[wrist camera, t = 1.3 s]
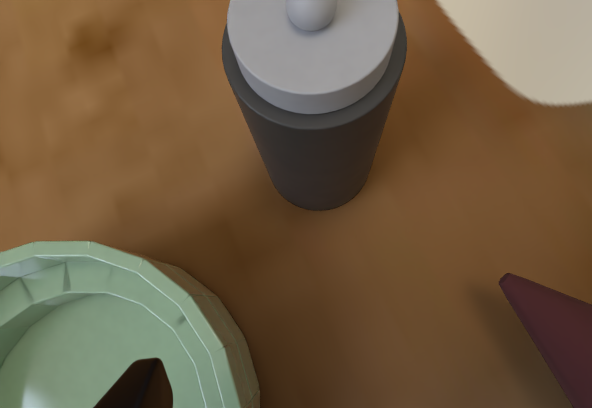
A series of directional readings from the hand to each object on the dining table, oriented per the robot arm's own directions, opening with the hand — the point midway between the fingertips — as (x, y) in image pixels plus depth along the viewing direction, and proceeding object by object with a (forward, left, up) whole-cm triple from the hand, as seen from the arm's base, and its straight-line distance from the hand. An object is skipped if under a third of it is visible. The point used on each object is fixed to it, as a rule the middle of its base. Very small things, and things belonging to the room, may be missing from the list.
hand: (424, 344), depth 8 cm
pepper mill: (+5, +6, -13) cm, 15 cm away
